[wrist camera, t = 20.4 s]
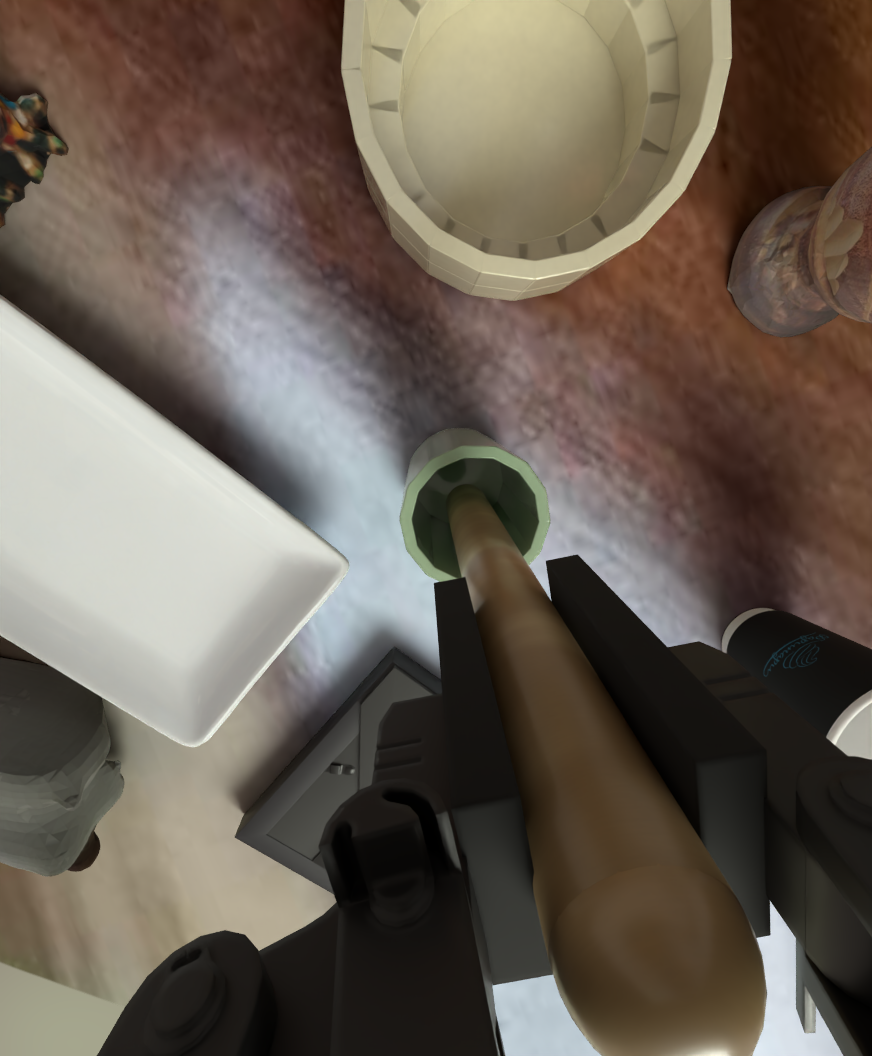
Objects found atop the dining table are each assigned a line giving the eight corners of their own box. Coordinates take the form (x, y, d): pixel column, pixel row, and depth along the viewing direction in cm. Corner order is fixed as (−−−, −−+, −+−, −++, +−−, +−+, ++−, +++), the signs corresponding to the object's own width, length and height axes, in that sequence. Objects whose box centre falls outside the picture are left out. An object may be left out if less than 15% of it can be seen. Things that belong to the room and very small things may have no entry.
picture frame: (394, 646, 33) (243, 814, 37) (392, 664, 31) (232, 841, 34) (539, 750, 36) (386, 899, 39) (546, 773, 34) (384, 928, 37)
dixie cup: (727, 573, 33) (875, 661, 22) (834, 601, 33) (1027, 699, 23) (680, 676, 35) (795, 803, 24) (782, 701, 35) (937, 834, 25)
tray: (215, 724, 34) (192, 761, 31) (-256, 430, 28) (-347, 435, 25) (364, 545, 31) (358, 563, 28) (-129, 170, 25) (-214, 136, 22)
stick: (480, 477, 25) (827, 966, 4) (487, 515, 25) (823, 1130, 4) (441, 485, 25) (563, 1011, 4) (448, 522, 25) (593, 1171, 4)
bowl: (649, -90, 23) (724, -247, 18) (671, 269, 28) (738, 237, 22) (326, -17, 24) (295, -147, 18) (396, 327, 28) (390, 310, 22)
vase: (499, 417, 29) (538, 430, 20) (515, 518, 31) (558, 576, 21) (397, 438, 30) (386, 461, 20) (418, 537, 31) (418, 603, 22)
